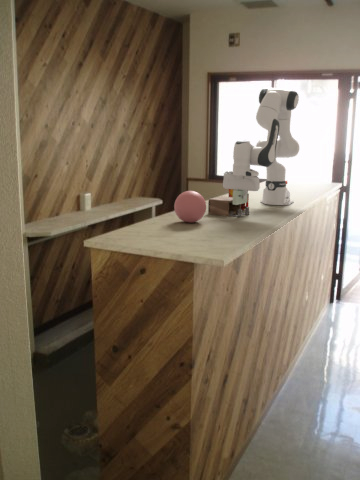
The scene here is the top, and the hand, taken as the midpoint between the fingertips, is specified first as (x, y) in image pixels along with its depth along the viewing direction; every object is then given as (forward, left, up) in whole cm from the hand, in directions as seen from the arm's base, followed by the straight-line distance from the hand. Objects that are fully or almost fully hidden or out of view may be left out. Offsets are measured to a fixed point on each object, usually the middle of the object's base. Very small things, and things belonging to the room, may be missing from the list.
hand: (240, 198), depth 257 cm
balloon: (+31, -9, -9) cm, 34 cm away
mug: (-18, -10, -9) cm, 22 cm away
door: (0, 0, -3) cm, 3 cm away
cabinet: (0, -6, -9) cm, 11 cm away
